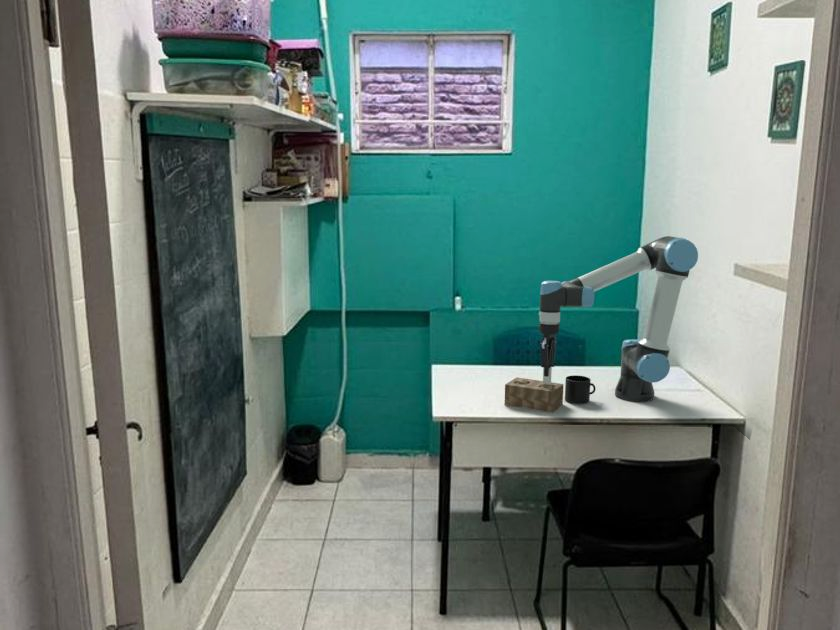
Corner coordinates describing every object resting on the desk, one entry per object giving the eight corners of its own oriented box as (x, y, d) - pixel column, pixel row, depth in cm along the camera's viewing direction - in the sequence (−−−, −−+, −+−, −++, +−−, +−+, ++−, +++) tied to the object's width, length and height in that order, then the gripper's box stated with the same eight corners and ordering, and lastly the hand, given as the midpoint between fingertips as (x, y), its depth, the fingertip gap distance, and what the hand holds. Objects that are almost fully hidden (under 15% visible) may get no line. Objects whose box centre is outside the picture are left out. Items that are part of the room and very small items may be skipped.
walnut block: (562, 404, 267) (563, 384, 265) (552, 412, 256) (553, 391, 255) (516, 396, 276) (516, 377, 274) (504, 404, 265) (505, 384, 264)
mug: (599, 403, 268) (600, 381, 266) (569, 404, 266) (570, 382, 264) (590, 396, 277) (591, 374, 275) (561, 397, 275) (562, 375, 274)
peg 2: (553, 404, 264) (553, 384, 263) (549, 407, 261) (550, 386, 259) (542, 402, 266) (543, 382, 265) (539, 405, 263) (540, 385, 261)
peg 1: (528, 400, 269) (528, 380, 268) (524, 403, 266) (525, 382, 264) (518, 398, 271) (519, 379, 270) (514, 401, 268) (515, 381, 266)
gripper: (545, 318, 265) (543, 378, 269) (533, 324, 254) (531, 386, 258) (564, 320, 262) (561, 381, 266) (553, 326, 251) (550, 389, 255)
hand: (546, 383), depth 262 cm, fingers closed
